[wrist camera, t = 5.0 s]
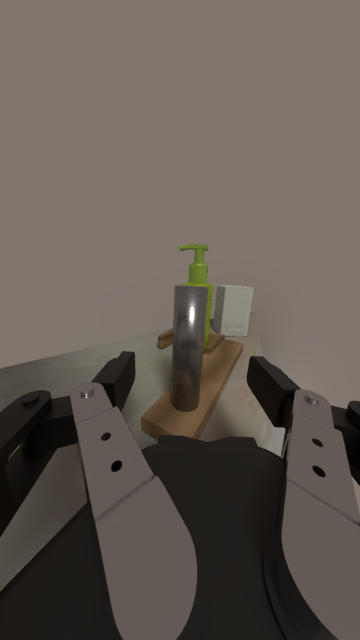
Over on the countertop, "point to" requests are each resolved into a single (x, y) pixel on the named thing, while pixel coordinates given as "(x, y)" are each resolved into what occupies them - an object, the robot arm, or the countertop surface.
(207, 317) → the soap dispenser
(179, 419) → the base with upright cylinder
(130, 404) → the countertop surface
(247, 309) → the supplement box
